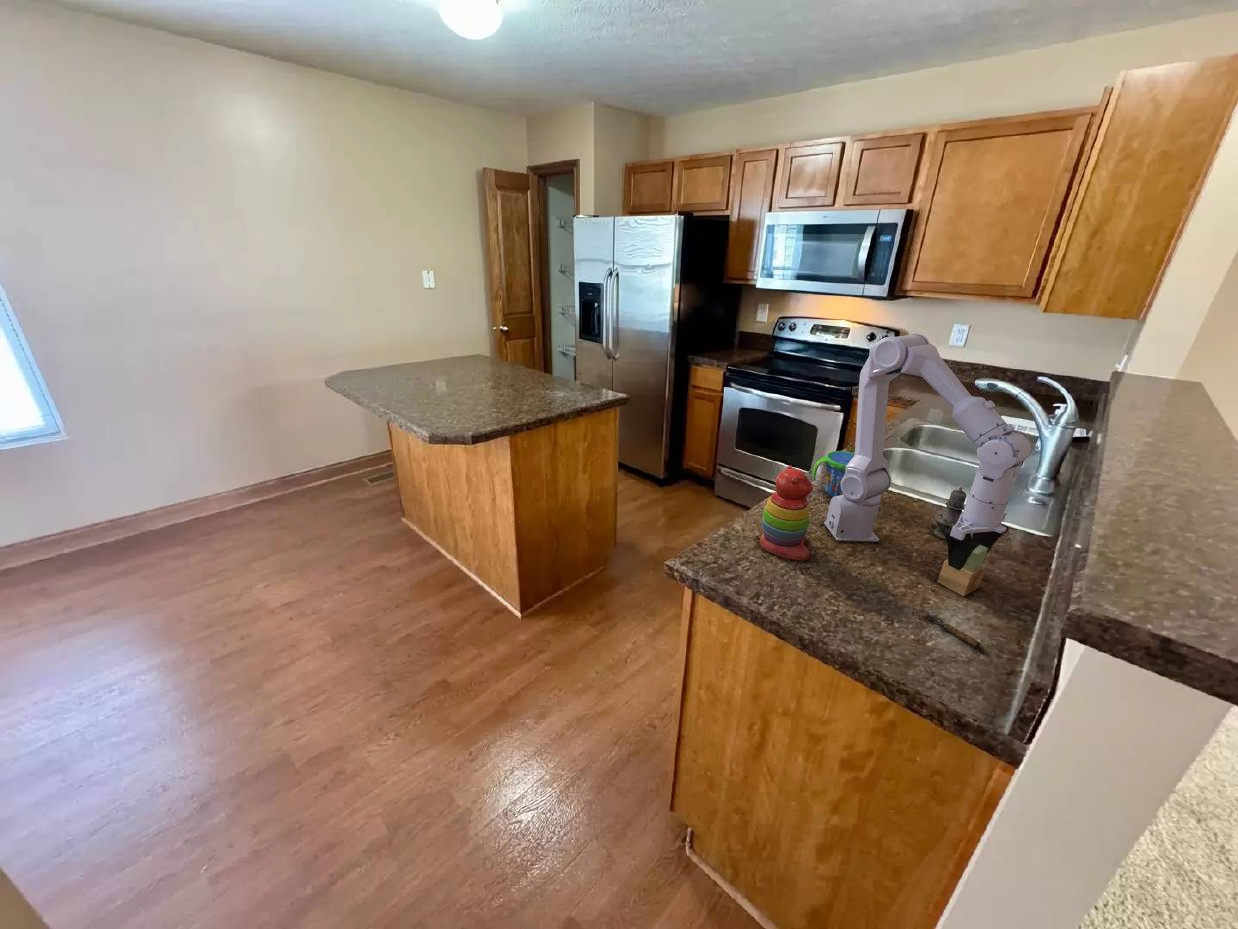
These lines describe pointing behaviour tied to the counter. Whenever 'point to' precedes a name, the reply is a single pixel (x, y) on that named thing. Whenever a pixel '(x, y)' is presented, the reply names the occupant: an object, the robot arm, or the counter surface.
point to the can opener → (955, 631)
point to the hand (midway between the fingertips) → (965, 561)
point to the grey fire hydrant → (950, 512)
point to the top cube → (976, 558)
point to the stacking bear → (787, 516)
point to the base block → (960, 578)
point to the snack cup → (834, 470)
